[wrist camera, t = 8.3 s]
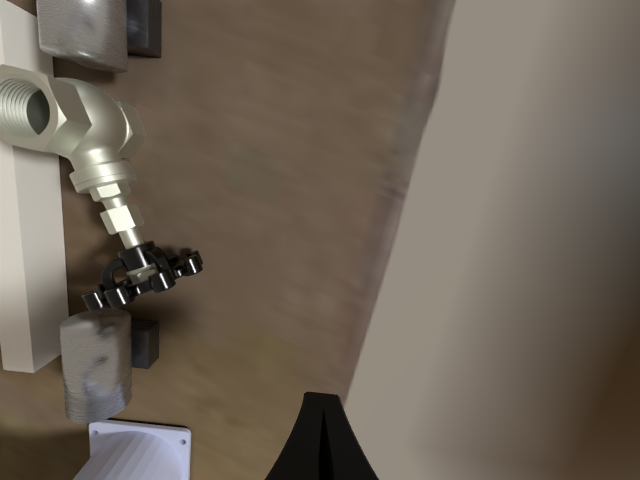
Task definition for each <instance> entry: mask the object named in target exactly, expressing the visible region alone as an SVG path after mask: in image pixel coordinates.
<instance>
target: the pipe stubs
mask: <svg viewBox="0 0 640 480" xmlns="http://www.w3.org/2000/svg"><path fill="white" fill-rule="evenodd" d="M36 3H37V17H38V32H39V46H40V49H41V50H42V51H44V52H45V53H47V54H49V55H52V56H54V57H56V58H59V59H62V60H64V61H67V62H70V63H74V64H77V65H81V66H84V67H88V68H93V69H97V70H102V71H108V72H117V73H123V72H127V53H130V54H137V55H144V56H152V57H159V58H161V10H162V3H161V1H160V0H36ZM60 341H61V355H62V369H63V383H64V398H65V412H66V417H67V418H68V419H69V420H70V421H72V422H74V423H79V424H89V423H95V422H99V421H102V420H105V419H107V418H110V417H112V416H114V415H115V414H117V413H118V412H120V411H121V410H122V409H124V408H125V407H126V406H127V405H128V403H129V402H130V400H131V398H132V367H135V368H144V369H149V368H150V367H151V365H152V364H153V363H154V362H155V361H156V360H157V359H158V358H159V322H155V321H146V320H137V319H131V315H130V313H129V312H127V311H125V310H122V309H117V308H116V309H112V308H102V309H99V310H96V311H93V312H90V311H89V310H88V311H84V312H81V313H78V314H75V315H73V316H71V317H69V318H67V319H66V320H64V321H63V322H62V323H61V325H60Z"/></svg>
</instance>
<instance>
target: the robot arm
mask: <svg viewBox="0 0 640 480" xmlns="http://www.w3.org/2000/svg"><path fill="white" fill-rule="evenodd" d="M183 439H184V440H183ZM89 441H90V459H89V460H88V461H87V462H86V464H85V465H84V466H83V467H82V469H81V470H80V471H79V472H78V474H77V475H76V476H75V477H74V478H73V480H189V477H190V450H191V432H190V430H189V429H187V428H180V427H171V426H161V425H152V424H142V423H133V422H124V421H114V420H102V421H99V422H95V423H90V424H89ZM265 480H379V479H378V477H377V476H376V474H375V472H374V471H373V469H372V467H371V466H370V464H369V462H368V460H367V458H366V456H365V455H364V453H363V451H362V449H361V447H360V445H359V443H358V441H357V439H356V437H355V435H354V433H353V431H352V429H351V426H350V424H349V421H348V419H347V417H346V414H345V412H344V409H343V406H342V403H341V400H340V397H339V396H338V395H334V394H325V393H316V392H306V393H305V394H304V398H303V403H302V407H301V410H300V413H299V415H298V418H297V420H296V423H295V425H294V427H293V430H292V432H291V434H290V436H289V438H288V440H287V442H286V444H285V446H284V448H283V450H282V452H281V454H280V455H279V457H278V459H277V461H276V462H275V464H274V466H273V467H272V469H271V471H270V472H269V474H268V475H267V477H266V479H265Z"/></svg>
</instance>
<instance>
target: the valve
mask: <svg viewBox="0 0 640 480" xmlns="http://www.w3.org/2000/svg"><path fill="white" fill-rule="evenodd" d="M146 138H147V134H146V132H145V129H144V127H143V124H142V122H141V119H140V117H139V114H138V112H137V109H136V108H135V107H134V106H131V105H128V104H126V103H123V102H120V101H116V100H113V99H112V98H111V97H110V96H109V95H108V94H106V93H105V92H104V91H102V90H101V89H99V88H98V87H96V86H94V85H92V84H90V83H87V82H84V81H81V80H77V79H73V78H53V77H51V76H48V75H45V74H41V73H37V72H33V71H29V70H25V69H21V68H17V67H13V66H9V65H4V64H1V65H0V141H1V142H3V143H7V144H10V145H14V146H18V147H23V148H27V149H32V150H36V151H41V152H49V153H56V154H59V155H61V156H63V157H66V158H68V159H69V160H70V161H71V163H72V166H73V168H74V170H75V171H74V172H72V173H71V174H70V175H69V176H70V178H71V181H72V183H73V185H74V187H75V189H76V191H77V193H80V194H86V193H90V194H91V196H92V198H93V200H94V201H96V202H103V204H104V206H105V208H106V210H107V211H104V212H102V213H100V215H101V218H102V220H103V222H104V224H105V226H106V228H107V231H108V233H109V234H116V233H119V235H120V237H121V239H122V241H123V244H124V246H125V248H126V249H124V250H121V251H119V252H117V254H118V256H119V259H116V260H114V261H112V262H110V263H109V264H108V265H107V266H106V267H105V268H104V270H103V272H102V277H101V278H102V283H100V284H98V285H96V286H95V289H96V291H97V293H98V295H99V296H98V295H97V293H96V292H94V291H93V290H92V291H90V292H87V293H85V294H84V295H82V298H83V300H84V302H85V304H86V306H87V308H88V310H89V311H90V312H93V311H96V310H99V309H102V308H104V307H106V306H108V305H110V306H111V308H112V309H116V308H119V307H122V306H125V305H127V304H129V303H131V302H132V301H134V300H135V297H136V296H138V295H141V294H143V293H146V292H148V291H151V290H154V292H156V293H158V292H162V291H165V290H167V289H169V288H171V287H173V286H174V285H175V284H176V282H175V279H177V278H179V277H182V276H191V275H194V274H196V273H198V272H200V271H202V270H203V268H202V264H203V262H202V259H201V257H200V254H199V252H198V251H197V250H196V251H192V252H189V253H187V254H186V255H187V257H188V258H187V259H185V260H179V259H178V256H177V255H174V256H171V257H168V258H167V256H166V254H165V253H164V251H163V250H162V249H160V248H159V247H156V246H155V244H154V241H148V242H145V243H144V241H143V239H142V237H141V235H140V232H139V230H138V228H137V227H139V226H142V225H144V224H145V222H144V220H143V218H142V215H141V213H140V211H139V208H138V206H137V204H130V205H129V203H128V201H127V199H126V195H128V194H130V192H131V190H130V187H129V185H128V184H130V183H132V182H134V181H136V179H137V178H136V176H135V174H134V171H133V169H132V166H131V164H130V163H129V162H123V161H122V159H121V158H125V159H131V158H132V157H133V155H134V154H135V153H136V151H137V150H138V149H139V148H140V146H141V145H142V144H143V142H144V141H145V140H146ZM122 267H124V269H125V272H126V274H127V275H128V276H129V278H126V279H124V280H122V281H120V282H118V283H116V282H115V279H114V277H113V273H114V271H115V270H117V269H119V268H122Z"/></svg>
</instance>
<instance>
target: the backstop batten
mask: <svg viewBox="0 0 640 480" xmlns="http://www.w3.org/2000/svg"><path fill="white" fill-rule="evenodd" d="M1 64H4V65H9V66H13V67H17V68H21V69H25V70H29V71H33V72H37V73H41V74H45V75H48V76H51V77H53V78H54V74H53V58H52V55H49V54H47V53H45V52H44V51H42V50H41V49H40V46H39V32H38V18H37V17H36V16H34V15H32V14H30V13H28V12H27V11H25V10H23V9H21V8H19V7H17V6H16V5H14V4H12V3H10V2H8V1H7V0H0V65H1ZM67 318H69V311H68V295H67V280H66V264H65V248H64V232H63V216H62V200H61V185H60V169H59V154H56V153H49V152H41V151H36V150H32V149H27V148H23V147H18V146H14V145H10V144H7V143H3V142H1V141H0V345H1V353H2V362H3V370H10V371H19V372H29V373H35V372H36V371H38V370H39V369H41V368H42V367H43V366H45V365H46V364H48V363H49V362H51V361H52V360H54V359H55V358H56V357H58V356H59V355H61V341H60V325H61V323H62V322H63V321H64V320H66V319H67Z"/></svg>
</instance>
